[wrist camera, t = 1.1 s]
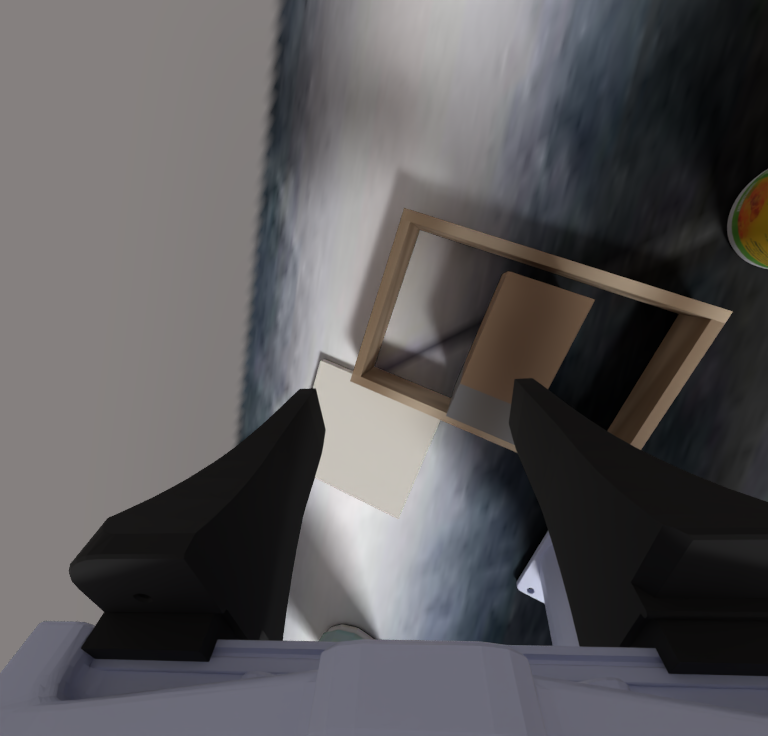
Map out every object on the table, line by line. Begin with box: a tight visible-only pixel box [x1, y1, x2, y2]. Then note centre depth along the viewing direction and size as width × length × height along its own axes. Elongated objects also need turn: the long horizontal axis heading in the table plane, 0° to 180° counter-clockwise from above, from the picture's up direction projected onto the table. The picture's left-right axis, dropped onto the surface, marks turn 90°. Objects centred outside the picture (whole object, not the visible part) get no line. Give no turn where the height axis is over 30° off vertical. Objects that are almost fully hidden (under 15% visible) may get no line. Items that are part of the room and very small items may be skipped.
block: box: [446, 271, 595, 445], centre depth 20 cm, size 4×8×6 cm, turn 161°
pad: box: [313, 359, 440, 519], centre depth 27 cm, size 10×10×1 cm
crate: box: [350, 208, 732, 453], centre depth 21 cm, size 17×11×3 cm, turn 71°
